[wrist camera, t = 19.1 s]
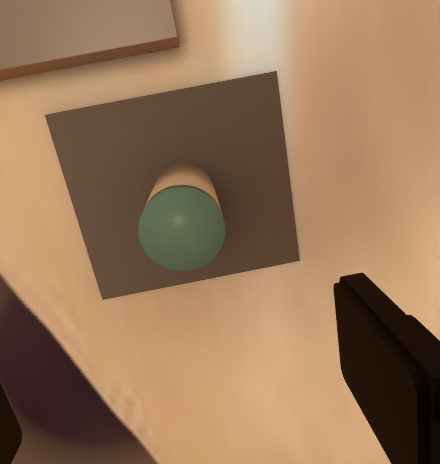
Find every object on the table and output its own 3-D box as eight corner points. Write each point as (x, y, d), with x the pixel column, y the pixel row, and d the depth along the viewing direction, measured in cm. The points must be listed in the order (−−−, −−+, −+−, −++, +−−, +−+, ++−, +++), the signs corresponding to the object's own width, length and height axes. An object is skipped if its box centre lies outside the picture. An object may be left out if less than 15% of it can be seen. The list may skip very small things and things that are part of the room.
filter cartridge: (209, 157, 30) (218, 182, 21) (218, 216, 32) (230, 263, 23) (148, 168, 30) (129, 197, 21) (160, 226, 32) (148, 277, 22)
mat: (274, 71, 29) (276, 71, 29) (297, 258, 34) (299, 260, 34) (47, 115, 29) (44, 115, 29) (103, 296, 34) (102, 299, 34)
